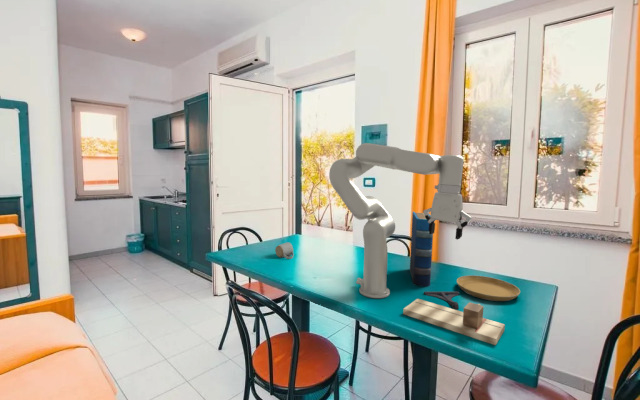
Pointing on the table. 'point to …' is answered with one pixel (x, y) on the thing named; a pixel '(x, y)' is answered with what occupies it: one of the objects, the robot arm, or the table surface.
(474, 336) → the board
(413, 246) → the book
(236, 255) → the table surface
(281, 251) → the ceramic mug
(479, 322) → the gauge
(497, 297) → the plant saucer
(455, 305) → the bracket
